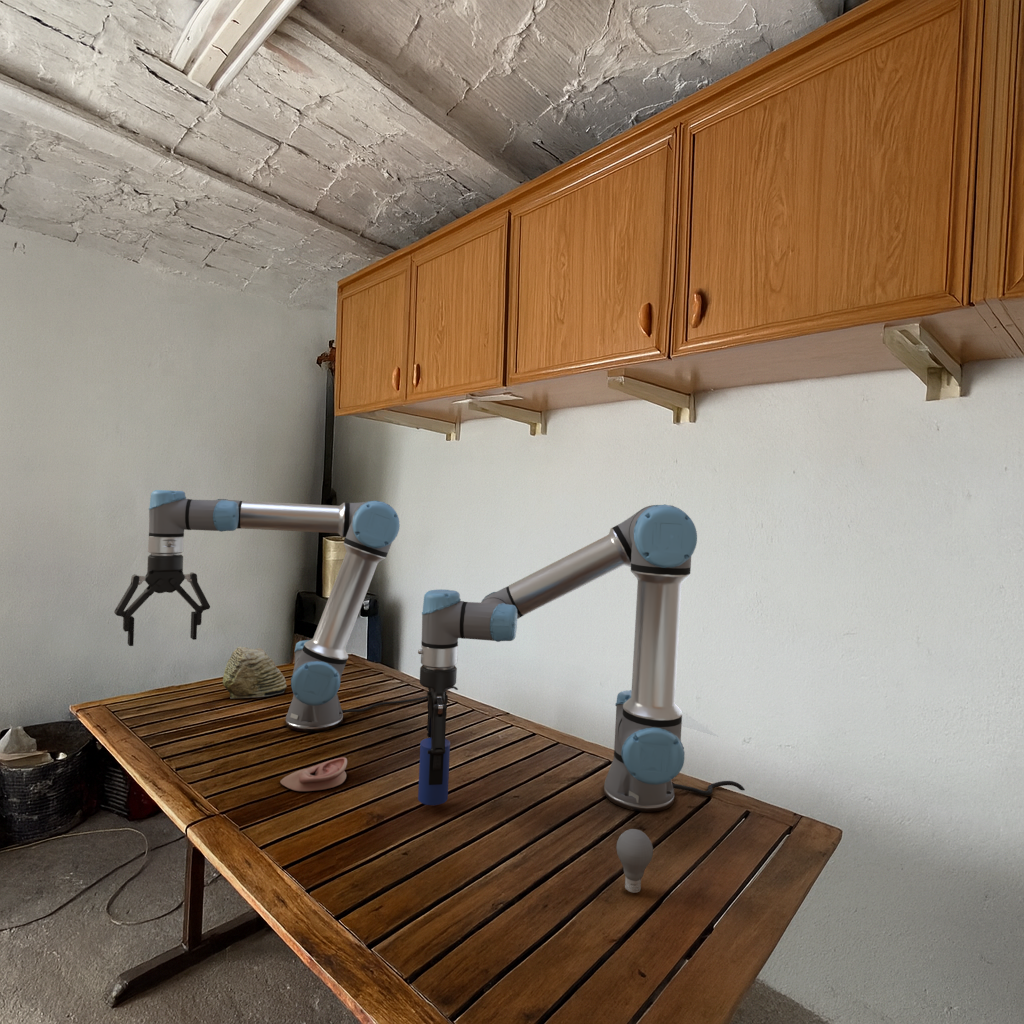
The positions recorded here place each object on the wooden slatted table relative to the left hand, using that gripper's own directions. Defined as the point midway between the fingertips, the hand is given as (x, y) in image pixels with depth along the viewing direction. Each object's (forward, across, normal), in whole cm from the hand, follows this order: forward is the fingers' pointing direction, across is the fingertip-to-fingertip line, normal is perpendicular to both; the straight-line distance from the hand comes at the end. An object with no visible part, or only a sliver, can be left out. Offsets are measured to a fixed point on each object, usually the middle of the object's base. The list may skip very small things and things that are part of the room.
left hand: (162, 641), depth 153 cm
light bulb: (+26, +50, -105) cm, 119 cm away
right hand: (+20, +38, -62) cm, 75 cm away
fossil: (+26, +33, +31) cm, 52 cm away
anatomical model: (+26, +23, -37) cm, 51 cm away
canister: (+24, +38, -62) cm, 77 cm away
